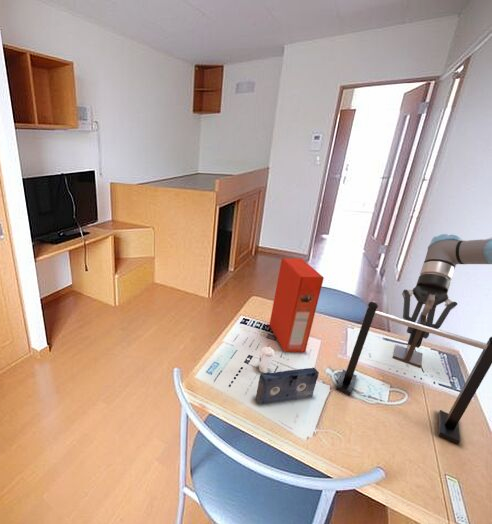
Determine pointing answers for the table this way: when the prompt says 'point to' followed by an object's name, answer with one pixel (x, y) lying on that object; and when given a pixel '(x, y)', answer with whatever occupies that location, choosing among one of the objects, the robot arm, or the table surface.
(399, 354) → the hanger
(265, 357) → the milkshake
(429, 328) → the coat rack
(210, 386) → the table surface
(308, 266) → the file binder
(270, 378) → the vhs cassette tape
